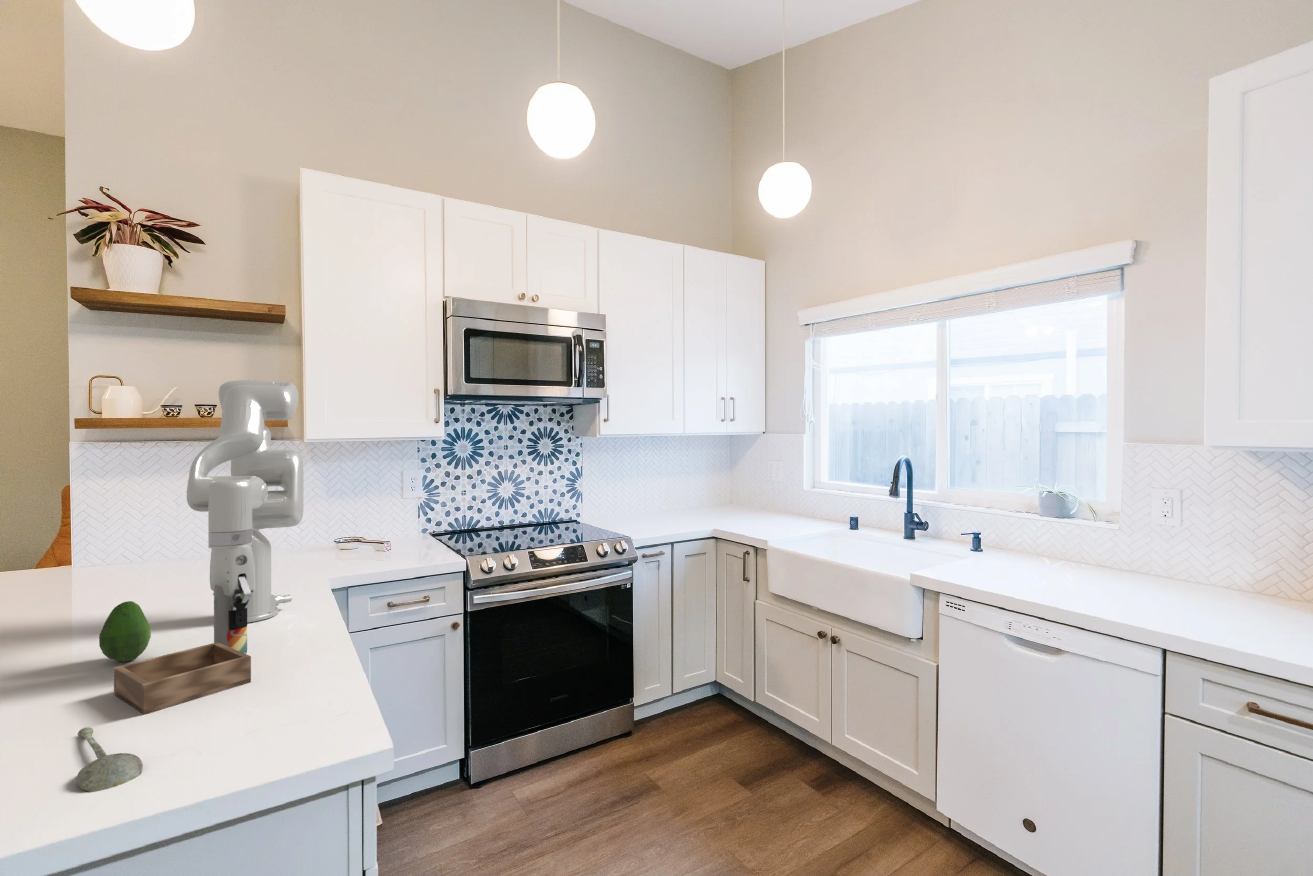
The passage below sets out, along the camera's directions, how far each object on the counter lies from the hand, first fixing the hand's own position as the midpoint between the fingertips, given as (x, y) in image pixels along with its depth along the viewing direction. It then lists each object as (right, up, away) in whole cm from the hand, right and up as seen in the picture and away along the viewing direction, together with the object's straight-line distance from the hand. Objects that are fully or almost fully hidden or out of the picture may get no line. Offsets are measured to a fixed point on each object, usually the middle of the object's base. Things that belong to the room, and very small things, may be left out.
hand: (230, 624), depth 128 cm
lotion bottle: (0, -7, 0) cm, 7 cm away
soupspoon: (+9, -8, -40) cm, 42 cm away
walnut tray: (+3, -7, -16) cm, 18 cm away
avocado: (-20, -7, -3) cm, 21 cm away
